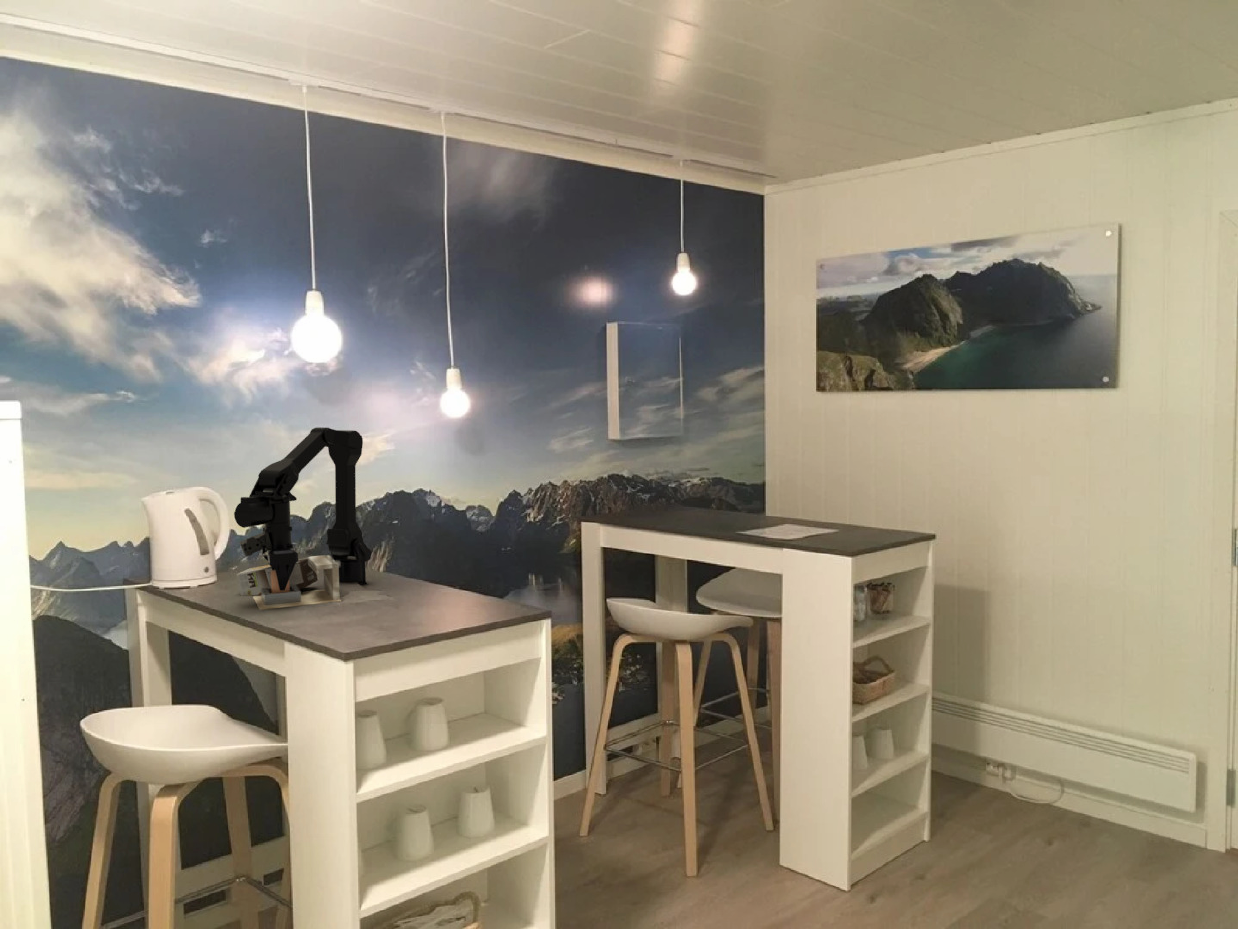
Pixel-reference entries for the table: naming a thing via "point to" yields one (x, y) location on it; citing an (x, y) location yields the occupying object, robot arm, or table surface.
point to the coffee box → (261, 577)
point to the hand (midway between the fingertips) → (280, 587)
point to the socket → (280, 596)
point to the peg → (275, 583)
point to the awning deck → (315, 596)
